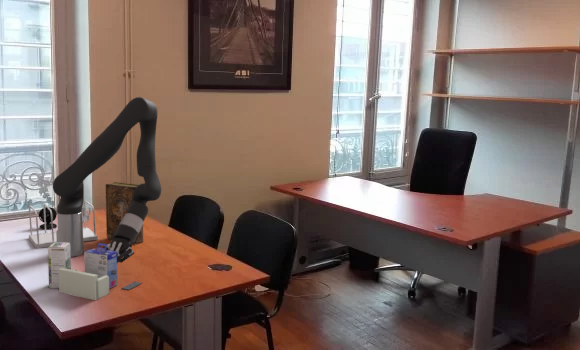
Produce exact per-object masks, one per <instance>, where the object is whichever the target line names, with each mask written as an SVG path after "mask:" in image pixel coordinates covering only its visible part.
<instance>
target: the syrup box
mask: <svg viewBox="0 0 580 350" xmlns="http://www.w3.org/2000/svg"><path fill="white" fill-rule="evenodd" d="M71 259H72V257H71V256H70V243H66V242H55V243H53V244H52V245H50V246H48V247H47V261H48V262H47V264H48V265H47V266H48V288H49V289H59V269H60V268H65V269H70V270H72V269H71V268H72V267H71V266H72V264H71V263H72V262H71Z"/></svg>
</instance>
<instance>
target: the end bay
mask: <svg viewBox="0 0 580 350" xmlns="http://www.w3.org/2000/svg"><path fill="white" fill-rule="evenodd" d="M58 289H59V290H58V292H59V293H61V294H65V295H68V296H69V295H70V296H75V297H78V298H83V299H88V300H93V301H97V300H99V299H101V298H103V297H105V296H107V295H109V294H110V288H109V276H106V275H105V276H103V277H100V278H98V275H95V274H90V273H85V271H80V270H77V269H75V268H73V269H71V270H70V269H65V268H60V269H59V288H58Z"/></svg>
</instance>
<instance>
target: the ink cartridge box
mask: <svg viewBox="0 0 580 350" xmlns="http://www.w3.org/2000/svg"><path fill="white" fill-rule="evenodd" d="M97 244H98V245H97V247H96V248H95V247H94V248H91V249H88V250H84V253H83V256H84V257H83V258H84V272H85V273H90V274H95V275H98V278H100V277H103V276H105V275H106V276H109V289H112V288H114V287H116V286H118V263H117V251H111V250H106V248H107V245H108V244H107V243H101V242H99V243H97ZM101 246H102V247H101ZM103 246H105V248H103Z"/></svg>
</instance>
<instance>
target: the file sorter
mask: <svg viewBox="0 0 580 350" xmlns="http://www.w3.org/2000/svg"><path fill="white" fill-rule="evenodd" d="M58 204H59V202H57V204H56V206H58ZM87 204H88V205H89V206H90V208H91V209H92V220H93V231H92V230H91V229H90V228H89V227H87V222H86V213H85V208H86V205H87ZM45 207H47V208H48V209H49V211H50V213H51V225H52V229H51V231H49V232H47V230H46V215H45ZM49 207H50V206H49V205H47V204H46V203H45V204H43V208H44V222H43V224H45V230H44V232H42V233H40V232H39V223H38V222H39V220H38V218H39V217H38V212H37V210H36V209H35V208H34V207H33V206H32V205H30V204H29V206H28V213H29V214H28V215H29V229H30V234H29V235H28V239H29V240H30V241H31V243H32V245H33V246H34V247H35V248H36V249H40V248H41V249H42V248H48V247H49V246H50V245H52V244H53V243H55V242H57V238H56V231H57V230H55V231H54V229H53V223H54V221H53V216H52V211H51V209H50V208H49ZM83 208H84V221H85V222H84V227H83V242H90V241H96V240H99V236H98V235H97V233H96V232H97V231H96V217H95V216H96V215H95V214H96V213H95V207H94V205H93V204H92V203H90V202H89V201H88V200H84V202H83ZM31 209H32V211H34V214H35V224H36V233H34V234H33V227H32V226H33V225H32V224H33V223H32V215H31V214H32V213H31Z"/></svg>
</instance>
